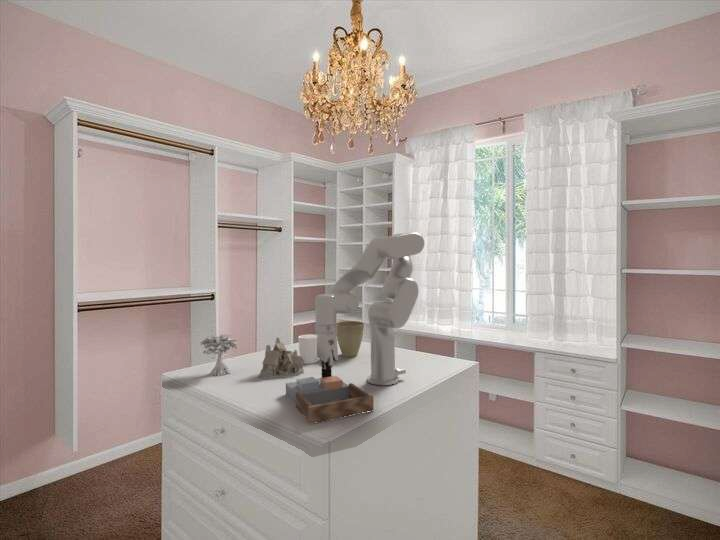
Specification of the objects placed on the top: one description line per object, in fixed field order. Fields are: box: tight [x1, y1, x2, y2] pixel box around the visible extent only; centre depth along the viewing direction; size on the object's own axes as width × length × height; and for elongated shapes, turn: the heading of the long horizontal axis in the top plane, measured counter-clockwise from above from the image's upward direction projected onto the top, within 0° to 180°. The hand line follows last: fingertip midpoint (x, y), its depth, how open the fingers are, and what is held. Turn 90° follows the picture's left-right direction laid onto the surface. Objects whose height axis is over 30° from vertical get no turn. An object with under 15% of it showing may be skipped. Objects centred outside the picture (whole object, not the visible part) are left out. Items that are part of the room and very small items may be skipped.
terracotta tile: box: [319, 375, 344, 390], centre depth 143 cm, size 6×6×2 cm
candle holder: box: [297, 333, 319, 365], centre depth 192 cm, size 10×10×12 cm
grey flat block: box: [285, 377, 350, 405], centre depth 145 cm, size 19×14×4 cm
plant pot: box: [336, 320, 365, 358], centre depth 203 cm, size 15×15×16 cm
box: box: [295, 383, 374, 425], centre depth 132 cm, size 21×15×5 cm
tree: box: [199, 333, 238, 377], centre depth 174 cm, size 18×16×17 cm
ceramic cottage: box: [259, 336, 305, 379], centre depth 173 cm, size 16×16×15 cm
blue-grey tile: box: [296, 376, 319, 391], centre depth 142 cm, size 6×6×2 cm
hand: (326, 379), depth 147 cm, fingers closed
